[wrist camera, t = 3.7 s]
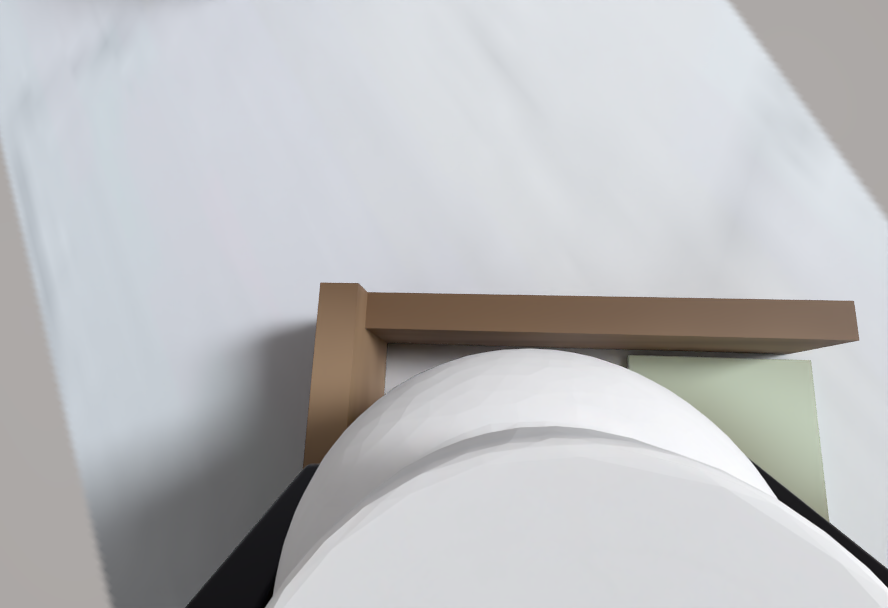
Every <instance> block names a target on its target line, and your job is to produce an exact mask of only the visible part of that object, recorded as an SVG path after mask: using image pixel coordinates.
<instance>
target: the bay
mask: <svg viewBox="0 0 888 608" xmlns="http://www.w3.org/2000/svg"><path fill="white" fill-rule="evenodd" d="M853 341H859V335H858V327H857V320H856V312H855V305H854V301H828V300H771V299H715V298H659V297H602V296H546V295H489V294H433V293H376V292H367V291H366V290H365V289H364V288H363V287H362V286H361V285H360V284H358V283H320V293H319V304H318V314H317V325H316V335H315V346H314V357H313V367H312V378H311V388H310V399H309V410H308V420H307V431H306V441H305V452H304V463H303V469H304V468H305V467H306V466H307V465H309V464H312V463H321V461H322V460H323V458H324V457H325V456H326V454H327V453H328V451H329V450H330V449H331V447H332V446H333V445H334V444H335V442H336V441H337V440H338V439H339V437H340V436H341V435H342V434H343V432H344V431H345V430H346V429H347V428H348V427H349V426H350V425H351V424H352V423H353V422H354V421H355V420H356V419H357V418H358V417H359V416H360V415H361V414H362V413H363V412H365V411H366V410H367V409H368V408H369V407H370V406H371V405H373V404H374V403H375V402H376V401H377V400H379V399H380V398H381V397H383V396H384V388H385V372H386V356H387V343H412V344H448V345H484V346H520V347H556V348H592V349H628V350H664V351H700V352H736V353H772V354H791V353H796V352H802V351H807V350H812V349H817V348H822V347H827V346H833V345H838V344H843V343H848V342H853ZM627 360H628V369H629V370H631V371H634V372H636V373H638V374H640V375H642V376H644V377H646V378H648V379H650V380H652V381H654V382H656V383H657V384H659V385H661V386H663V387H665V388H667V389H668V390H670V391H671V392H673V393H674V394H676V395H677V396H679V397H680V398H682V399H683V400H685V401H686V402H688V403H689V404H690V405H692V406H693V407H694V408H696V409H697V410H698V411H699V412H701V413H702V414H703V415H704V416H706V417H707V418H708V419H709V420H710V421H712V422H713V423H714V424H715V425H716V426H717V427H718V428H719V429H720V430H722V431H723V432H724V433H725V434H726V435H727V436H728V437H729V438H730V439H731V440H732V441H733V442H734V444H735V445H736V446H737V447H738V448H739V449H740V450H741V451H742V452H743V453H744V454H745V455H746V456H747V457H748V458H749V459H750V460H752V461H753V462H754V463H756V464H757V465H758V466H759V467H761V468H762V469H763V470H764V471H766V472H767V473H768V474H769V475H771V476H772V477H773V478H774V479H776V480H777V481H778V482H779V483H781V484H782V485H783V486H784V487H786V488H787V489H788V490H789V491H791V492H792V493H793V494H794V495H796V496H797V497H798V498H799V499H801V500H802V501H803V502H804V503H806V504H807V505H808V506H809V507H811V508H812V509H813V510H814V511H816V512H817V513H818V514H819V515H821V516H822V517H823V518H824V519H826V520H827V521H828V522H829V516H828V507H827V498H826V489H825V481H824V472H823V463H822V454H821V445H820V436H819V428H818V419H817V410H816V401H815V392H814V383H813V374H812V366H811V360H781V359H746V358H712V357H677V356H643V355H628V356H627Z"/></svg>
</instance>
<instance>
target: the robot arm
mask: <svg viewBox="0 0 888 608" xmlns="http://www.w3.org/2000/svg"><path fill="white" fill-rule="evenodd" d="M746 457H747V456H746ZM747 458H748V457H747ZM748 459H749V458H748ZM749 460H750V459H749ZM750 461H751V462H752V464H753V465H754V466H755V468H756V469H757V470H758V472H759V473H760V474H761V476H762V477H763V479H764V480H765V481H766V483H767V484H768V486H769V487H770V489H771V490H772V491H773V493H774V494H775V496H776V497H777V499H778V500H779V501H781V502H782V503H784V504H785V505H787V506H788V507H789V508H791V509H792V510H794V511H795V512H797V513H798V514H800V515H801V516H803V517H804V518H806V519H807V520H808V521H810V522H811V523H813V524H814V525H816V526H817V527H819V528H820V529H822V530H823V531H825V532H826V533H827V534H828V535H830V536H831V537H832V538H833V539H834V540H835V541H837V542H838V543H839V544H840V545H841V546H843V547H844V548H845V549H846V550H847V551H849V552H850V553H851V554H852V555H853V556H855V557H856V558H857V559H858V560H859V561H861V562H862V563H863V564H864V565H865V566H866V567H868V568H869V569H870V570H871V571H872V572H873V573H874V574H875V575H876V576H877V578H878V579H879V580H880V581H881V582H882V583H883V584H884V585H885V586H886V587H887V588H888V569H887V568H886V567H885V566H883V565H882V564H881V563H880V562H878V561H877V560H876V559H875V558H873V557H872V556H871V555H870V554H868V553H867V552H866V551H865V550H863V549H862V548H861V547H860V546H858V545H857V544H856V543H855V542H853V541H852V540H851V539H850V538H848V537H847V536H846V535H845V534H843V533H842V532H841V531H840V530H838V529H837V528H836V527H834V526H833V525H832V524H831V523H829V522H828V521H827V520H826V519H824V518H823V517H822V516H821V515H819V514H818V513H817V512H816V511H814V510H813V509H812V508H811V507H809V506H808V505H807V504H806V503H804V502H803V501H802V500H801V499H799V498H798V497H797V496H796V495H794V494H793V493H792V492H791V491H789V490H788V489H787V488H786V487H784V486H783V485H782V484H781V483H779V482H778V481H777V480H776V479H774V478H773V477H772V476H771V475H769V474H768V473H767V472H766V471H764V470H763V469H762V468H761V467H759V466H758V465H757V464H756V463H754V462H753V461H752V460H750ZM319 465H320V463H312V464H309V465H307V466H306V467H305V468H304V469H303V470H302V471H301V472H300V474H299V475H298V476H297V477H296V478H295V479H294V481H293V482H292V483H291V484H290V485H289V486H288V488H287V489H286V490H285V491H284V492H283V494H282V495H281V496H280V497H279V498H278V499H277V501H276V502H275V503H274V504H273V505H272V506H271V508H270V509H269V510H268V511H267V512H266V513H265V515H264V516H263V517H262V518H261V519H260V520H259V522H258V523H257V524H256V525H255V526H254V528H253V529H252V530H251V531H250V532H249V533H248V535H247V536H246V537H245V538H244V539H243V540H242V542H241V543H240V544H239V545H238V546H237V547H236V549H235V550H234V551H233V552H232V553H231V554H230V556H229V557H228V558H227V559H226V560H225V562H224V563H223V564H222V565H221V566H220V567H219V569H218V570H217V571H216V572H215V573H214V574H213V576H212V577H211V578H210V579H209V580H208V581H207V583H206V584H205V585H204V586H203V587H202V588H201V590H200V591H199V592H198V593H197V594H196V596H195V597H194V598H193V599H192V600H191V601H190V603H189V604H188V605H187V606H186V607H185V608H265V607H266V605H267V604H268V602H269V601H270V600H271V598H272V597H273V591H274V586H275V580H276V575H277V570H278V565H279V561H280V557H281V553H282V549H283V545H284V541H285V538H286V536H287V533H288V530H289V527H290V524H291V522H292V519H293V516H294V513H295V511H296V509H297V506H298V504H299V502H300V500H301V498H302V496H303V494H304V492H305V490H306V488H307V486H308V485H309V483H310V481H311V479H312V477H313V476H314V474H315V472H316V470H317V469H318V467H319Z"/></svg>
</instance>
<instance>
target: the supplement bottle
mask: <svg viewBox="0 0 888 608" xmlns="http://www.w3.org/2000/svg"><path fill="white" fill-rule="evenodd" d="M265 608H888V588H887V587H886V586H885V585H884V584H883V583H882V582H881V581H880V580H879V579H878V578H877V576H876V575H875V574H874V573H873V572H872V571H871V570H870V569H869V568H868V567H866V566H865V565H864V564H863V563H862V562H861V561H859V560H858V559H857V558H856V557H855V556H853V555H852V554H851V553H850V552H849V551H847V550H846V549H845V548H844V547H843V546H841V545H840V544H839V543H838V542H837V541H835V540H834V539H833V538H832V537H831V536H830V535H828V534H827V533H826V532H825V531H823V530H822V529H820V528H819V527H817V526H816V525H814V524H813V523H811V522H810V521H808V520H807V519H806V518H804V517H803V516H801V515H800V514H798V513H797V512H795V511H794V510H792V509H791V508H789V507H788V506H787V505H785V504H784V503H782V502H781V501H779V500H778V499H777V497H776V496H775V494H774V493H773V491H772V490H771V489H770V487H769V486H768V484H767V483H766V481H765V480H764V479H763V477H762V476H761V474H760V473H759V472H758V470H757V469H756V468H755V466H754V465H753V464H752V462H751V461H750V460H749V459H748V458H747V457H746V455H745V454H744V453H743V452H742V451H741V450H740V449H739V448H738V447H737V446H736V445H735V444H734V442H733V441H732V440H731V439H730V438H729V437H728V436H727V435H726V434H725V433H724V432H723V431H722V430H720V429H719V428H718V427H717V426H716V425H715V424H714V423H713V422H712V421H710V420H709V419H708V418H707V417H706V416H704V415H703V414H702V413H701V412H699V411H698V410H697V409H696V408H694V407H693V406H692V405H690V404H689V403H688V402H686V401H685V400H683V399H682V398H680V397H679V396H677V395H676V394H674V393H673V392H671V391H670V390H668V389H667V388H665V387H663V386H661V385H659V384H657V383H656V382H654V381H652V380H650V379H648V378H646V377H644V376H642V375H640V374H638V373H636V372H634V371H631V370H629V369H626V368H624V367H622V366H619V365H616V364H613V363H610V362H607V361H604V360H601V359H598V358H595V357H591V356H586V355H582V354H577V353H572V352H566V351H559V350H548V349H530V348H528V349H509V350H498V351H490V352H484V353H479V354H474V355H468V356H465V357H462V358H459V359H456V360H452V361H449V362H446V363H444V364H441V365H439V366H436V367H434V368H431V369H429V370H427V371H424V372H422V373H420V374H418V375H416V376H414V377H412V378H410V379H409V380H407V381H405V382H403V383H402V384H400V385H398V386H396V387H395V388H393V389H392V390H391V391H389V392H388V393H387V394H385V395H384V396H383V397H381V398H380V399H379V400H377V401H376V402H375V403H374V404H373V405H371V406H370V407H369V408H368V409H367V410H366V411H365V412H363V413H362V414H361V415H360V416H359V417H358V418H357V419H356V420H355V421H354V422H353V423H352V424H351V425H350V426H349V427H348V428H347V429H346V430H345V431H344V432H343V434H342V435H341V436H340V437H339V439H338V440H337V441H336V442H335V444H334V445H333V446H332V447H331V449H330V450H329V451H328V453H327V454H326V456H325V457H324V458H323V460H322V461H321V463H320V465H319V467H318V469H317V470H316V472H315V474H314V476H313V477H312V479H311V481H310V483H309V485H308V486H307V488H306V490H305V492H304V494H303V496H302V498H301V500H300V502H299V504H298V506H297V509H296V511H295V513H294V516H293V519H292V522H291V524H290V527H289V530H288V533H287V536H286V538H285V541H284V545H283V549H282V553H281V557H280V561H279V565H278V570H277V575H276V580H275V586H274V591H273V597H272V598H271V600H270V601H269V602H268V604H267V605H266V607H265Z"/></svg>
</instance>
